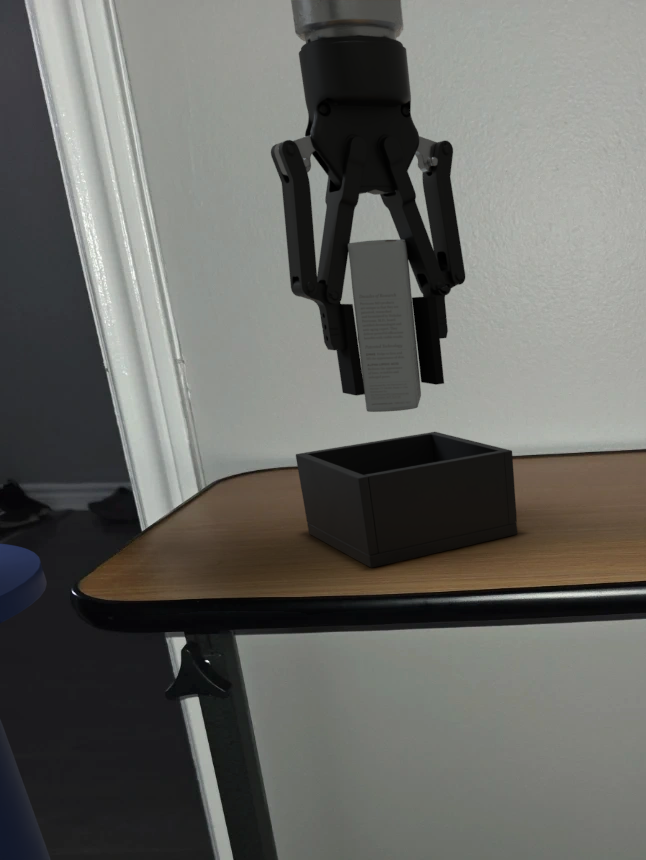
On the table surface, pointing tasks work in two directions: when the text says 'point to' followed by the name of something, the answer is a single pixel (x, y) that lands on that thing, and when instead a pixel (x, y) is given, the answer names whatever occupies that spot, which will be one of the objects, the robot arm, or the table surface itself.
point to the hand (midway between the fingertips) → (393, 387)
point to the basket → (408, 496)
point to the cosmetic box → (385, 324)
